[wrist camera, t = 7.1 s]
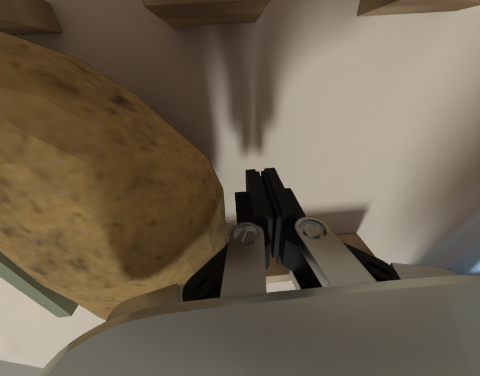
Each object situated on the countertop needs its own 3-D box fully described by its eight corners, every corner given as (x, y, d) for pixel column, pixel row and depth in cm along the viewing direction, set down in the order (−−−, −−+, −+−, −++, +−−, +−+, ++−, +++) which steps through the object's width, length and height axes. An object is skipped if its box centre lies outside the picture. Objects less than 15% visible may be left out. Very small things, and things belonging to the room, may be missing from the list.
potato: (177, 16, 8) (-3, -177, 2) (245, 224, 16) (260, 334, 10) (-6, 77, 9) (-612, 106, 2) (144, 248, 17) (93, 364, 10)
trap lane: (468, -19, 8) (662, -87, 5) (353, 239, 18) (386, 283, 15) (-124, 10, 8) (-458, -44, 4) (93, 264, 18) (58, 317, 14)
